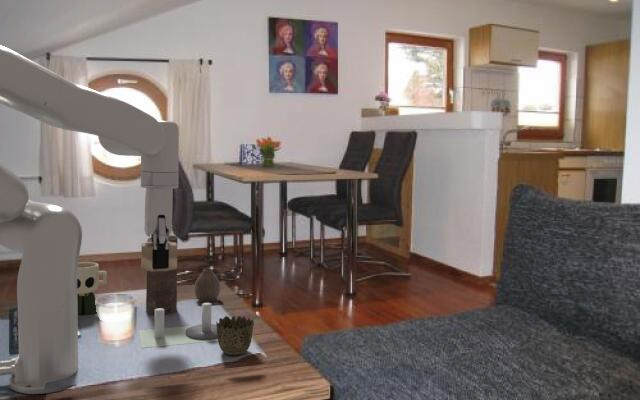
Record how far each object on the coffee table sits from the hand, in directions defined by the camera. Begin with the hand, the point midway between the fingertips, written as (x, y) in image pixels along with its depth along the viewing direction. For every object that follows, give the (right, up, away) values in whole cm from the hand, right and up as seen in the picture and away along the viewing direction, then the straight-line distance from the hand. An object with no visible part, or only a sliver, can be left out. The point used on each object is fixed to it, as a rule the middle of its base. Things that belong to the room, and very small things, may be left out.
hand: (159, 263), depth 116 cm
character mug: (-24, -15, +18) cm, 33 cm away
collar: (0, -1, 0) cm, 1 cm away
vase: (+3, -14, +35) cm, 38 cm away
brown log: (-5, -16, +20) cm, 26 cm away
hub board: (+4, -17, +4) cm, 18 cm away
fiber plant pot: (+17, -19, -5) cm, 26 cm away
